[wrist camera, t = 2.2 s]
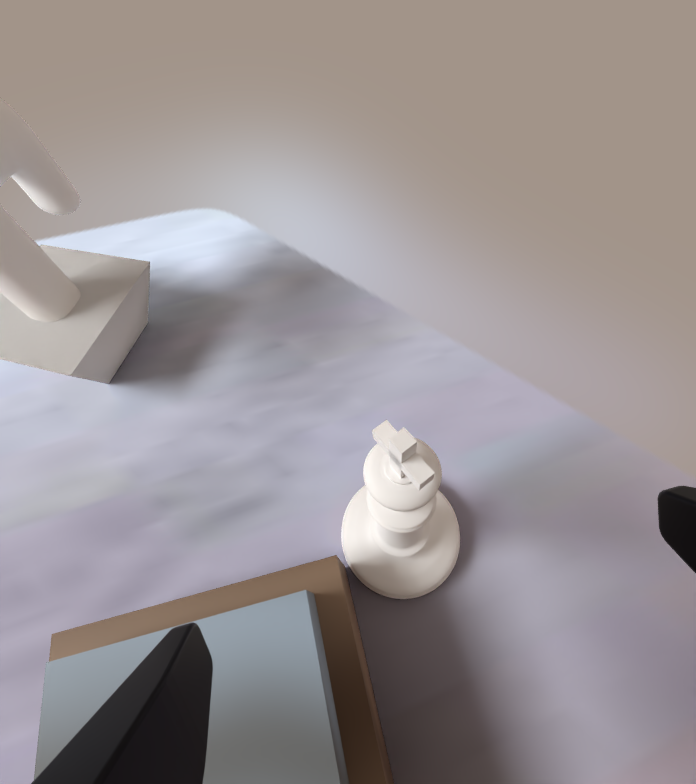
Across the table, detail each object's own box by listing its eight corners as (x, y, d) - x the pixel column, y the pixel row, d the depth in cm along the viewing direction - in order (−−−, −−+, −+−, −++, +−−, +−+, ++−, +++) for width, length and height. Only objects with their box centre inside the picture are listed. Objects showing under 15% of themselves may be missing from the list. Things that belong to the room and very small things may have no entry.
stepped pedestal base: (425, 922, 12) (439, 1056, 8) (86, 1028, 12) (-62, 1219, 8) (345, 567, 17) (330, 547, 13) (104, 634, 17) (17, 634, 13)
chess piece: (406, 456, 19) (414, 315, 11) (485, 545, 17) (574, 456, 9) (318, 523, 18) (250, 425, 10) (391, 628, 16) (386, 621, 8)
